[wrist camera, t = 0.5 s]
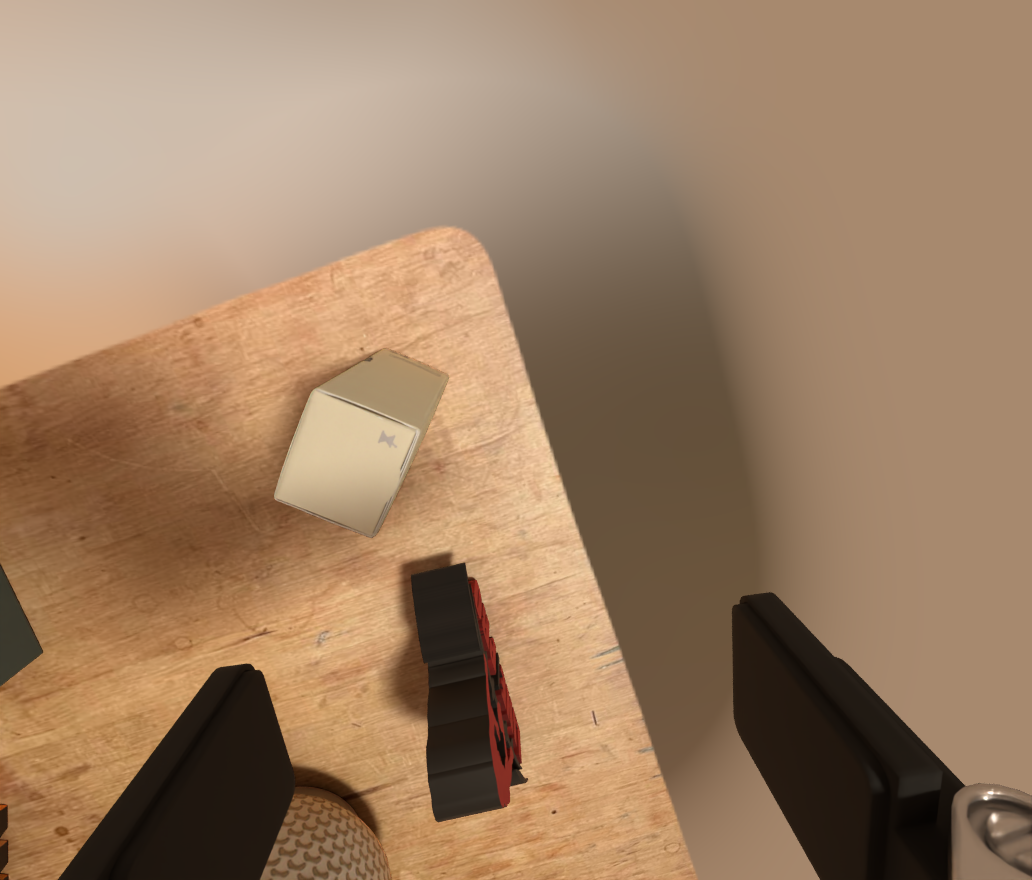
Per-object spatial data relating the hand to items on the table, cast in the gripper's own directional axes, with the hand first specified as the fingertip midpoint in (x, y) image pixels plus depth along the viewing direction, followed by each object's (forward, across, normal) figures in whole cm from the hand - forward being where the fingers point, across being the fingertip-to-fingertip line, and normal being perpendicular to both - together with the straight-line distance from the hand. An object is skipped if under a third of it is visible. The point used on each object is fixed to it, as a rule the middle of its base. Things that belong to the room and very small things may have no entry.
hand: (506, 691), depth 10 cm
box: (+23, +6, -2) cm, 24 cm away
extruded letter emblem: (+23, +4, +17) cm, 29 cm away
